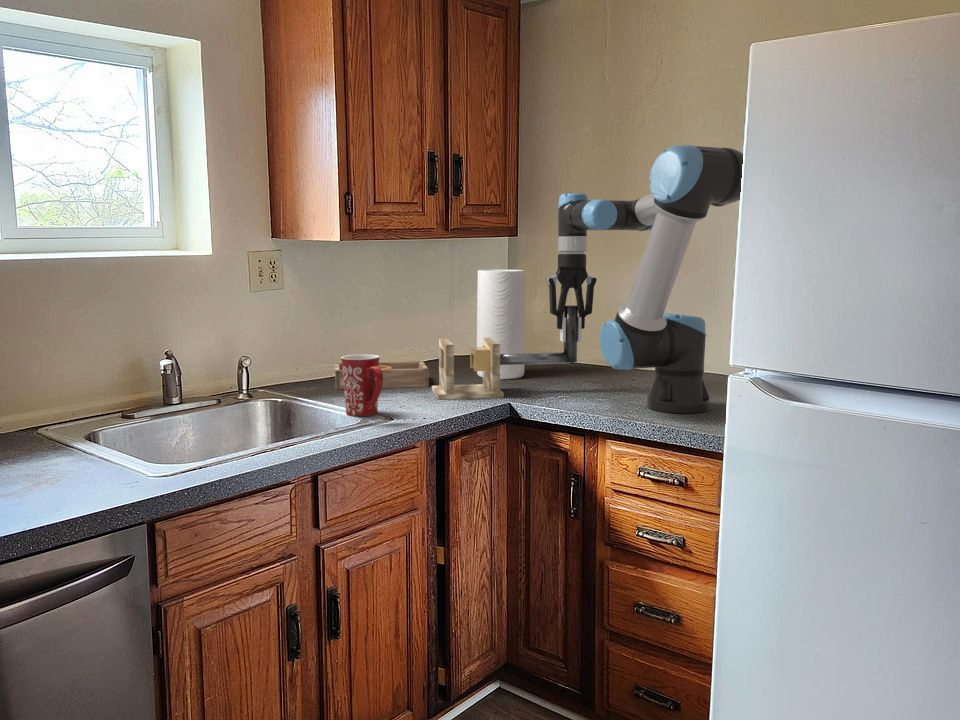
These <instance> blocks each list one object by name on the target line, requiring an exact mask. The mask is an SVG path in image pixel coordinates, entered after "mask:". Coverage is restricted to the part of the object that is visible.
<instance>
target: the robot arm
mask: <svg viewBox="0 0 960 720" xmlns="http://www.w3.org/2000/svg"><path fill="white" fill-rule="evenodd" d="M743 154H744V153H742V151H740V150H738V149H734V148H730V147H715V146H714V147H713V146H699V145H698V146H697V145H694V144H684V145H673V146H670V147H668V148H667V149H664V150H663V151H662V152H661V153H659V155H658V156H657V158H656V159H655V160H654V162H653V165H652V167H651V170H650V173H649V182H650V184H649V191H650V193H649V194H646V195H644V196H641V197H640V198H639V197H638V198H637V199H634V200H616V199H615V200H614V199H613V200H612V199H604V198H595V199H589V198H588V195H587V194H586V193H578V192H577V193H573V192H571V193H562V194H560V195H559V198H558V208H557V210H558V211H557V214H558V215H557V219H558V222H557V226H558V227H557V232H558V233H557V234H558V238H557V242H558V243H557V251H558V253H559V254H558V255H557V271H556V272H555V275H553V276H550V277H547V278H546V282H547V285H548V293H549V296H548V297H549V313H550V314H551V315H553V316H555V317H556V327H557V328H556V329H558V330H560V331H559V341H560V342H562V343H564V342H566V317H564V309H565V305H567V304H566V303H567V298H568V293H569V291H570V289H573V290H574V293H575V294H574V295H575V301H576V306H578V326H577V343H578V342H582V329H583V330H584V329H585V327H586V326H585V323H586V317H587V316H588V315H592V312H593V302H594V294H595V293H594V292H595V291H594V290H595V285H596V283H597V280H598V279H597V277H593V276H591V275H589V274H588V272H587V254H585V253H586V252H587V246H588V245H587V241H588V239H587V238H588V236H587V234H588V233H587V232H588V231H638V232H644V231H645V232H646V231H650V233H649V236H648V239H647V242H646V245H645V248H644V250H643V251H644V252H643V255H642V258H641V260H640V264H639V267H638V269H637V272H636V276H635V279H634V282H633V285H632V288H631V291H630V294H629V297H628V301H627V302H626V303H625V304H622V305H621V306H619V307H618V309H617V312H616V315H615V318H614V319H609V320H607V321H606V322H604V323H603V324H602V326H601V328H600V333H599V345H600V350H601V354H602V356H603V359H604V360H605V362H606V363H607V364H608V366H610V367H611V368H612V369H614V370H627V371H631V370H637V369H638V370H639V369H648V368H649V369H653V368H655V369H654V378H653V380H652V383H651V386H650V388H649V391H648V394H647V396H646V408H648V409H649V410H654V411H656V412H662V413H672V414H697V413H698V414H700V413H705V412H708V411H709V410H710V409H711V400H710V395H709V392H708V389H707V385H706V382H705V378H704V377H705V376H704V375H705V354H706V351H705V350H706V337H707V333H706V322H705V320H704V318H702V317H700V316H695V315H694V316H693V315H687V314H686V315H685V314H680V313H678V314H676V313H669V312H665V311H666V308H667V305H668V303H669V300H670V297H671V294H672V291H673V288H674V285H675V284H676V281H677V277H678V274H679V271H680V269H681V266H682V263H683V260H684V257H685V255H686V251H687V249H688V246H689V243H690V240H691V238H692V235H693V232H694V230H695V227H696V224H697V223H698V222H699V221H702V220H703V219H705V218H707V215H708V212H709V209H710V206H712V207H716V208H719V207H724V206H726V205H730V204H733V203H736V202H738V201H740V200H741V199H740V192H741V178H742V164H743ZM588 199H589V200H588ZM557 281H558V282H559V284H560V285H561V287H560V294H559V299H558V304H557V288H556V287H557V286H556V285H557ZM585 281H586V284H587V285H586V293H585V302H584V295H583V286H582V285H583V284H584V283H585Z"/></svg>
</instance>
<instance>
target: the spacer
mask: <svg viewBox="0 0 960 720" xmlns="http://www.w3.org/2000/svg"><path fill="white" fill-rule="evenodd" d="M469 350H470V351H469V352H470V355H469V356H470V359H469V360H470V362H469V363H470V364H469V365H470V367H469V368H470V369H473V371H474V372H477V371H490V350H489V349H488V348H486V347H477V346H470V349H469Z"/></svg>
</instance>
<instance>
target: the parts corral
mask: <svg viewBox="0 0 960 720" xmlns="http://www.w3.org/2000/svg"><path fill="white" fill-rule="evenodd" d="M379 365H386V366H390V367H392V369H381V370H382V374H383V386H382V389H394V388H397V389H398V388H399V389H400V388H427V387H430V386H429V382H430V381H429V378H430V377H429V367H428V366H427V365H426V363H425V362H424V361H423V360H421V361H419V360H418V361H417V360H415V361H379ZM334 378H335V380H334V381H335V390H344V381H343V369H342V362H335V363H334Z"/></svg>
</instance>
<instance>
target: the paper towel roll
mask: <svg viewBox="0 0 960 720" xmlns="http://www.w3.org/2000/svg"><path fill="white" fill-rule="evenodd" d="M525 271H526V270H523V269H479V270H477V292H476V293H477V296H476V297H477V299H476V301H477V303H476V304H477V307H476V347H483V338H491V339H493V340H495V341H496V342H498V343H500V354H511V353H526V347H525V345H526V343H525V342H526V337H525V335H526V327H525V326H526V325H525V324H526V319H525V318H526V310H525V309H526V306H525V305H526V302H525V301H526V300H525V299H526V295H525V294H526V291H525V290H526V285H525V282H526V280H525V278H526V277H525V276H526V275H525V273H526V272H525ZM525 365H526V364H524V365H500V381H503V380H505V379H506V380H515V379H520V378H522V377H523V376H524V375H525ZM476 375H477V376H478V377H480V378H482V379H483V371H476Z"/></svg>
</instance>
